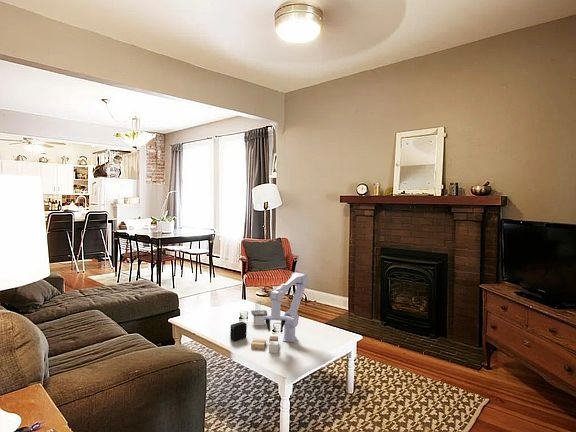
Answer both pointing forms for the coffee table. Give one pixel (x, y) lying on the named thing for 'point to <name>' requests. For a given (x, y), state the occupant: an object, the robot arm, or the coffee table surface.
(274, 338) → the walnut cube
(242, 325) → the electronic device
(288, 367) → the coffee table surface
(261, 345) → the oak base
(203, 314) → the coffee table surface
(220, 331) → the coffee table surface
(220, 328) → the coffee table surface
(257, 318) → the oil diffuser
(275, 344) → the grey cube
